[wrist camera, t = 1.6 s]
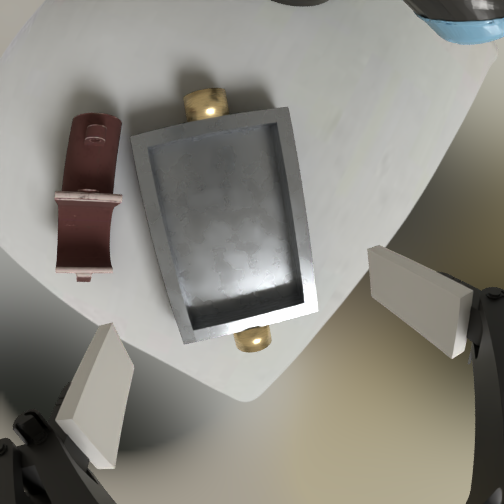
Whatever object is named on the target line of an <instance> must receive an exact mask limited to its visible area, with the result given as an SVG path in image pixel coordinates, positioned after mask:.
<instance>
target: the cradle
mask: <svg viewBox="0 0 504 504" xmlns="http://www.w3.org/2000/svg"><path fill="white" fill-rule="evenodd" d="M183 100H184V106H185V112H186V117H187V123H183V124H178V125H174V126H169V127H165V128H161V129H157V130H153V131H149V132H145V133H141V134H138V135H134V136H130V139H131V145H132V151H133V156H134V161H135V166H136V171H137V176H138V181H139V186H140V190H141V195H142V199H143V204H144V208H145V212H146V216H147V221H148V225H149V229H150V233H151V237H152V240H153V244H154V248H155V252H156V256H157V259H158V263H159V266H160V270H161V273H162V277H163V280H164V284H165V287H166V290H167V294H168V297H169V300H170V304H171V307H172V310H173V313H174V316H175V319H176V322H177V325H178V328H179V331H180V334H181V337H182V340H183V343H184V344H188V343H193V342H197V341H202V340H207V339H211V338H216V337H220V336H224V335H229V334H234V338H235V342H236V346H237V348H238V349H239V350H241V351H243V352H257V351H260V350H263V349H265V348H266V347H268V346H269V344H270V343H271V334H270V328H269V324H273V323H276V322H280V321H284V320H288V319H291V318H295V317H298V316H302V315H305V314H309V313H312V312H316V311H318V306H317V296H316V287H315V278H314V269H313V260H312V252H311V244H310V236H309V229H308V222H307V215H306V208H305V201H304V194H303V188H302V181H301V175H300V169H299V163H298V157H297V151H296V146H295V140H294V134H293V129H292V124H291V118H290V113H289V108H288V107H282V108H273V109H265V110H257V111H250V112H243V113H236V114H230V113H229V108H228V103H227V98H226V92H225V89H222V88H209V89H203V90H199V91H195V92H192V93H190V94H188V95H186V96H184V98H183Z"/></svg>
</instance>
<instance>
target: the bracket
mask: <svg viewBox="0 0 504 504" xmlns="http://www.w3.org/2000/svg"><path fill="white" fill-rule="evenodd" d="M121 126H122V122H121V120H120V119H118V118H116V117H114V116H112V115H108V114H103V113H84V114H80V115H77V116H76V117H74V118H73V121H72V126H71V131H70V137H69V142H68V148H67V154H66V161H65V168H64V176H63V185H62V191H55V201H56V202H57V204H58V245H57V262H56V273H76V275H77V282H90V280H91V275H92V273H113V268H112V266H111V261H110V226H111V218H112V212H113V209H114V207H115V206H117V205H119V204H120V203H122V195H120V194H113V188H114V178H115V169H116V161H117V153H118V146H119V139H120V132H121Z"/></svg>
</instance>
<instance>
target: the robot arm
mask: <svg viewBox="0 0 504 504" xmlns="http://www.w3.org/2000/svg"><path fill="white" fill-rule="evenodd" d="M271 1H274V2H278V3H281V4H286V5H291V6H314V5H319V4H322V3H324V2H326V1H328V0H271ZM403 1H404V2H405V3H406V4H407V5H408V6H409V7H410V8H411V9H412V10H413V11H414V13H415V14H416V15H417V16H418V17H419V18H420V19H422V20H424V21H425V22H426V23H427V24H428V25H429V26H430V27H431V28H432V29H433V30H434V31H435V32H436V33H437V34H438V35H439V36H440V37H442V38H443V39H445V40H447V41H449V42H453V43H458V44H463V45H473V44H481V43H486V42H490V41H494V40H497V39H500V38H502V37H504V0H403ZM367 250H368V260H369V271H370V284H371V296H372V297H373V298H374V299H376V300H377V301H378V302H380V303H381V304H382V305H383V306H385V307H386V308H387V309H389V310H390V311H391V312H393V313H394V314H395V315H397V316H398V317H399V318H400V319H402V320H403V321H405V322H406V323H407V324H408V325H410V326H411V327H412V328H413V329H415V330H416V331H417V332H418V333H420V334H421V335H422V336H424V337H425V338H426V339H427V340H429V341H430V342H431V343H433V344H434V345H435V346H436V347H438V348H439V349H440V350H441V351H442V352H444V353H445V354H446V355H447V356H449V357H450V358H451V359H453V358H454V357H456V356H457V355H459V354H460V353H462V352H463V351H464V349H465V345H466V340H467V338H468V339H469V340H470V341H472V347H471V352H470V356H469V361H468V364H470V363H471V360H472V362H473V373H474V389H475V451H474V465H473V475H472V484H471V491H470V495H469V498H468V500H467V502H466V504H504V290H503V289H500V288H497V287H489V288H485V289H483V290H482V291H481V290H479V289H477V288H475V287H473V286H471V285H469V284H467V283H465V282H463V281H462V282H461V280H459V279H457V278H454V277H453V276H451V275H449V274H446V273H442V272H437V271H433V270H431V269H429V268H427V267H425V266H423V265H421V264H419V263H417V262H415V261H413V260H411V259H408V258H406V257H404V256H402V255H400V254H398V253H396V252H393V251H391V250H389V249H387V248H385V247H382V246H380V245H378V246H375V247H372V248H369V249H367ZM133 371H134V365H133V363H132V361H131V359H130V357H129V356H128V354H127V352H126V350H125V348H124V346H123V344H122V341H121V339H120V337H119V335H118V333H117V331H116V329H115V327H114V324H113V323H109V324H105V325H101V326H99V328H98V330H97V332H96V333H95V335H94V337H93V339H92V341H91V343H90V345H89V347H88V349H87V352H86V353H85V355H84V357H83V359H82V361H81V364H80V365H79V368H78V370H77V372H76V374H75V376H74V378H73V380H72V382H69V383H68V384H67V385H66V386H65V387H64V388H63V390H62V391H61V393H60V395H59V397H58V398H59V399H58V400H57V402H56V404H55V405H56V406H55V407H54V408H53V411H52V413H51V415H50V418H49V420H48V422H47V421H46V420H45V419H44V418H43V416H42V415H41V414H40V412H39V411H38V410H35V409H30V410H27V411H25V412H23V413H22V414H21V415H19V416H18V417H17V418H16V420H15V422H14V424H13V430H14V431H15V432H16V434H17V435H18V436H19V437H20V438H21V439H22V441H23V442H24V443H25V444H24V445H21V446H17V447H16V446H15V444H14V443H13V442H12V441H11V440H10V439H8V438H3V439H0V504H116V503H115V501H114V500H113V499H112V498H111V496H110V495H109V494H108V493H107V491H106V490H105V489H104V488H103V486H102V485H101V484H100V482H99V481H98V480H97V478H96V477H95V476H94V474H93V473H92V472H91V471H90V470H89V469H88V463H89V460H90V461H91V462H92V463H93V465H95V466H96V468H98V469H113V468H115V464H116V457H117V451H118V445H119V440H120V434H121V428H122V423H123V418H124V413H125V408H126V403H127V398H128V393H129V389H130V384H131V380H132V376H133Z"/></svg>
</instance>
